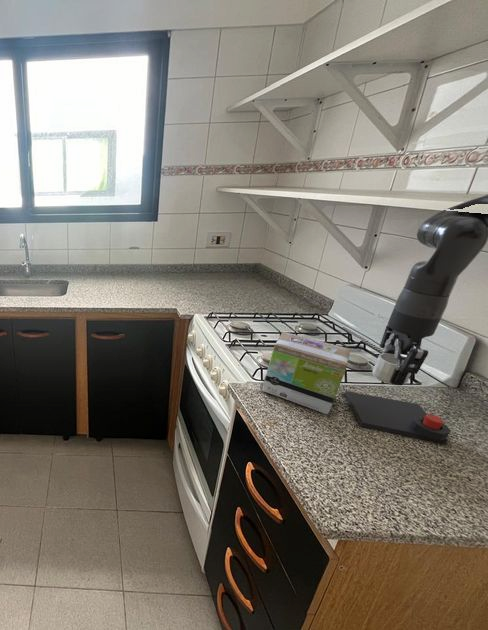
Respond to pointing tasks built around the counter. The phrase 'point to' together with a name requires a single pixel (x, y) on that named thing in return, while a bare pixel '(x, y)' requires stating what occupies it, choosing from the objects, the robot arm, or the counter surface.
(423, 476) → the counter surface
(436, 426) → the button
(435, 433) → the scale
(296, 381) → the tea box
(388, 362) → the white cup
